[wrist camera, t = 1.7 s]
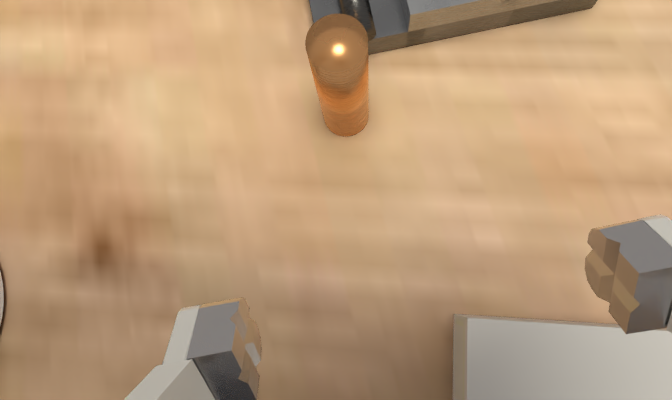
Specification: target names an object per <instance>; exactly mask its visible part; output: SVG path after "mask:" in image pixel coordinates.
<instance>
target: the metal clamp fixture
mask: <svg viewBox="0 0 672 400" xmlns="http://www.w3.org/2000/svg"><path fill="white" fill-rule="evenodd" d="M309 2H310V7H311V12H312V17H313V22H314V23H315V22H316V21H317V20H319V19H320V18H322V17H324V16H327V15H330V14H346V15H349V16H352V17H354V18H355V19H357V20H358V21H359V22H360V23H361V24H362V25H363V26H364V28H365V30H366V32H367V36H368V55H369V54H373V53H378V52H383V51H388V50H393V49H397V48H402V47H407V46H412V45H417V44H421V43H426V42H431V41H436V40H441V39H445V38H450V37H455V36H460V35H465V34H469V33H474V32H479V31H484V30H489V29H493V28H498V27H503V26H508V25H513V24H517V23H522V22H527V21H532V20H537V19H541V18H546V17H551V16H556V15H561V14H565V13H570V12H575V11H580V10H585V9H589V8H592V7H593V5H594V4H595V3H596V2H597V0H309Z"/></svg>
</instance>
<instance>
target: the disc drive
mask: <svg viewBox="0 0 672 400" xmlns="http://www.w3.org/2000/svg"><path fill="white" fill-rule="evenodd" d="M666 329H667V328H663V329H657V330H650V331H644V332H637V333H631V334H625V332H624V331H623V330H622V328H621V327H620V326H619V324H604V323H589V322H574V321H558V320H543V319H528V318H512V317H497V316H482V315H466V314H454V329H453V400H672V333H671V332H669V331H667V330H666Z"/></svg>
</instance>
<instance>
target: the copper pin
mask: <svg viewBox="0 0 672 400" xmlns="http://www.w3.org/2000/svg"><path fill="white" fill-rule="evenodd" d="M305 45H306V51H307V54H308V58H309V62H310V66H311V70H312V74H313V78H314V81H315V85H316V89H317V93H318V97H319V101H320V104H321V108H322V112H323V116H324V120H325V123H326V125H327V127H328V128H329V129H330V130H331V131H332V132H333V133H335V134H337V135H340V136H352V135H355V134H357V133H359V132H360V131H361V130H362V129H363V128H364V127H365V125H366V123H367V121H368V36H367V32H366V30H365V28H364V26H363V25H362V24H361V23H360V22H359V21H358V20H357V19H355V18H354V17H352V16H349V15H346V14H330V15H327V16H324V17H322V18H320V19H319V20H317V21H316V22H315V23H314V24H313V25H312V26H311V28H310V29H309V31H308V33H307V36H306V43H305Z"/></svg>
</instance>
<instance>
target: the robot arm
mask: <svg viewBox="0 0 672 400" xmlns="http://www.w3.org/2000/svg"><path fill="white" fill-rule="evenodd" d="M588 244H589V245H590V246H591V247H592V249H593V250H592V251H591V252H590V253H589V254H588V255H587V256H586V259H585V272H586V276H587V280H588V282H589V284H590V286H591V288H592V290H593V291H594V293H595V294H596V295H597V297H599V298H601V299H603V300H605V301H607V302H609V303H610V306H609V313H610V314H611V315H612V317H613V318H614V319H615V321H616V322H617V323H618V324H619V326H620V327H621V328H622V330H623V331H624V332H625V334H631V333H637V332H644V331H650V330H657V329H663V328H667V329H666V330H667V331H669V332H671V333H672V220H670V219H669V218H668V217H666V216H664V215H661V214H660V215H655V216H650V217H646V218H641V219H637V220H633V221H628V222H623V223H618V224H613V225H608V226H603V227H598V228H593V229H592V230H591V231H590V233H589V236H588ZM3 303H4V293H3V283H2V277H1V272H0V325H1V320H2V314H3ZM249 310H250V308H249V306H248V303H247V301H246V299H245V298H242V297H241V298H235V299H229V300H223V301H217V302H212V303H206V304H202V305H197V306H191V307H185V308H182V309H181V310H180V311H179V312H178V314H177V317H176V321H175V324H174V327H173V331H172V334H171V337H170V340H169V344H168V347H167V350H166V354H165V357H164V360H163V363H162V365H158V366H156V367H155V368H154V369H153V370H152V371H151V372H150V373H149V374H148V375H147V376H146V377H145V378H144V379H143V380H142V381H141V382H140V383H139V384H138V385H137V386H136V387H135V388H134V390H133V391H132V392H131V393H130V394H129V395H128V396H127V397H126V398H125V399H124V400H257V398H258V388H259V377H260V376H259V374H258V372H257V369H256V366H257V364H258V363H259V362H260V360H261V352H262V347H261V337H260V333H259V329H258V326H257V324H256V321H254V320H253V319H251V318H249Z"/></svg>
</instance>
